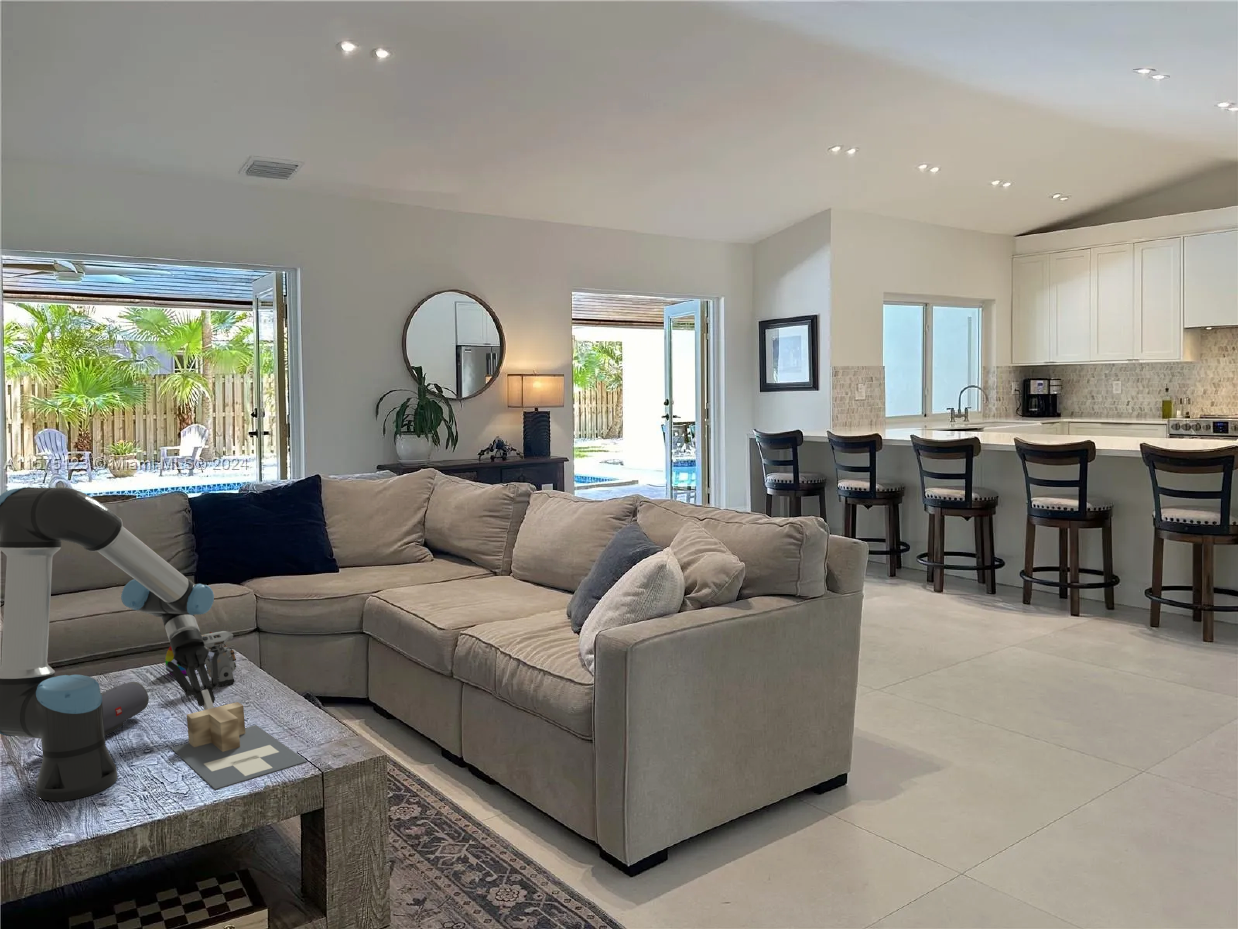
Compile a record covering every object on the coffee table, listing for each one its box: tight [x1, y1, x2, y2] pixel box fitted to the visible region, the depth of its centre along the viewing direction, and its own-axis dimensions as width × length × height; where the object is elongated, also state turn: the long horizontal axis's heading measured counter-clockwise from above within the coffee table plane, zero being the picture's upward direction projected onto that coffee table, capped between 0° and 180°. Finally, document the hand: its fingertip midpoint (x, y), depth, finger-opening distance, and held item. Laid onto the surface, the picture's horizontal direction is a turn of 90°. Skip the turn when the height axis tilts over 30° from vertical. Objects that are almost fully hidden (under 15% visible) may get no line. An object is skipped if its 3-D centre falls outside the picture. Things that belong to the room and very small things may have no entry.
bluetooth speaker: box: [100, 681, 150, 736], centre depth 231 cm, size 23×9×10 cm, turn 168°
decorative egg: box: [164, 645, 188, 676], centre depth 279 cm, size 8×8×10 cm
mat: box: [170, 724, 308, 791], centre depth 214 cm, size 20×32×1 cm, turn 41°
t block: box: [186, 701, 246, 752], centre depth 221 cm, size 12×12×7 cm
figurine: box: [194, 630, 237, 687], centre depth 267 cm, size 9×12×15 cm
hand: (211, 715), depth 229 cm, fingers closed
